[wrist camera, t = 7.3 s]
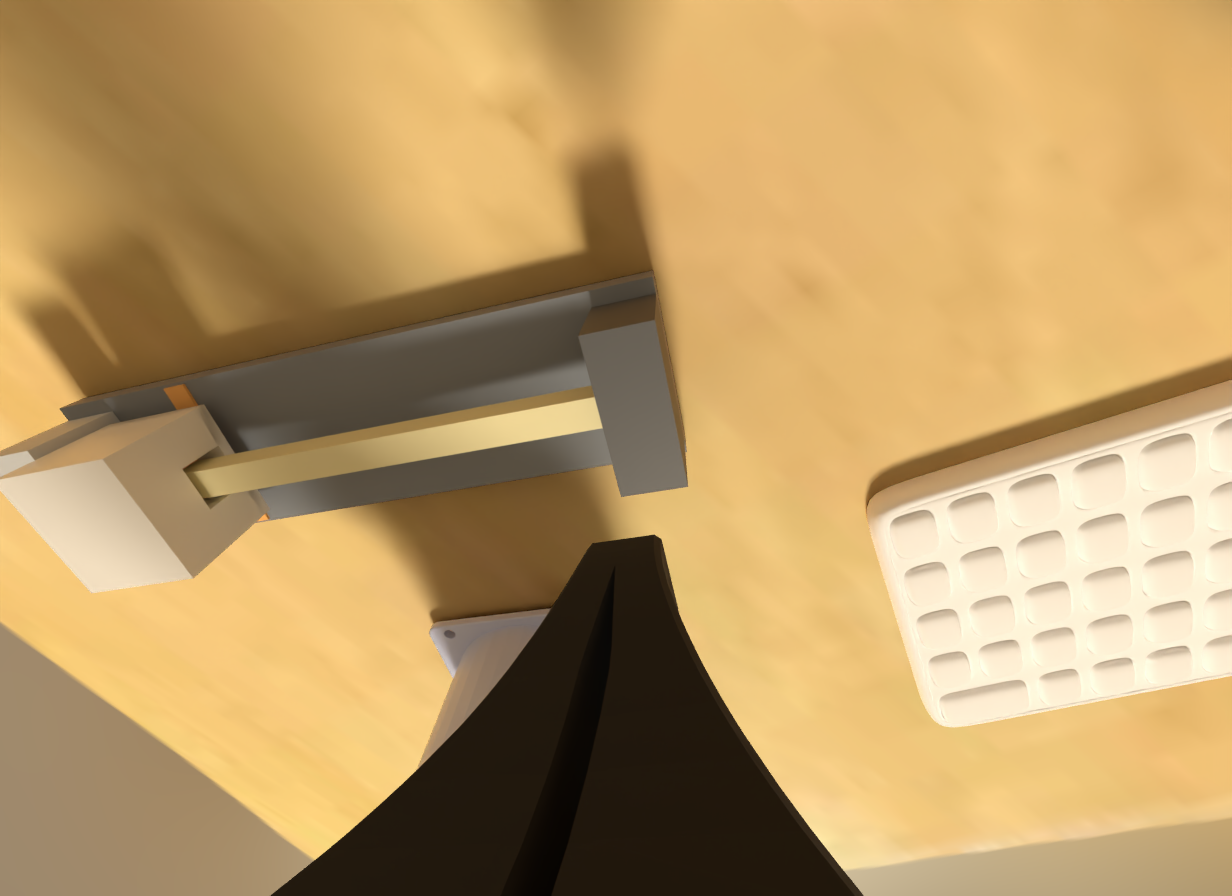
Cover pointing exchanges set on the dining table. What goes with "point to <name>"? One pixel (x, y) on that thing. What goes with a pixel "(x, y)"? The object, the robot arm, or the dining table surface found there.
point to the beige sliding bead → (133, 501)
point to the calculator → (1067, 564)
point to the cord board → (430, 406)
